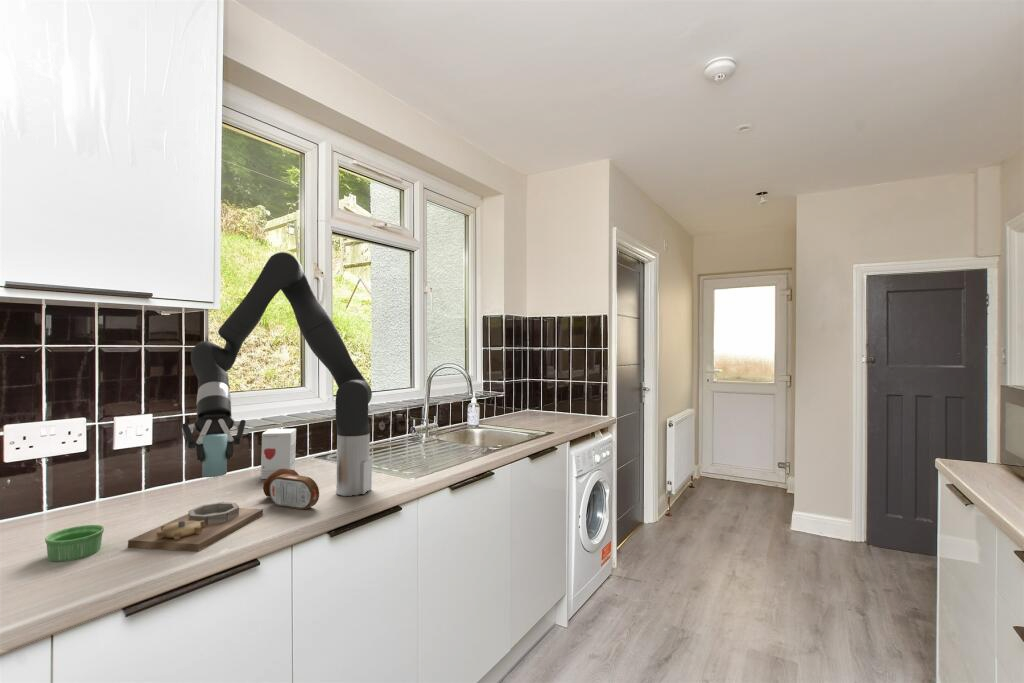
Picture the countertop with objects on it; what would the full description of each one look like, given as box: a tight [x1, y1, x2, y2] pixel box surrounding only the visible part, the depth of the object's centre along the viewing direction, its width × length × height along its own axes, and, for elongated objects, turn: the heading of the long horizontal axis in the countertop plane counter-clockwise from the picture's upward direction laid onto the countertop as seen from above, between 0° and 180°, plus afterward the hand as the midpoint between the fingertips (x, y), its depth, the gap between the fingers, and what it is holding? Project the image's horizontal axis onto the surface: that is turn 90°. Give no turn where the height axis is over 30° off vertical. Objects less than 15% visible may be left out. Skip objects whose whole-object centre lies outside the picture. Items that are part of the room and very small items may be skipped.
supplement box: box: [260, 428, 297, 480], centre depth 160 cm, size 9×9×15 cm
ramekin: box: [44, 524, 105, 563], centre depth 99 cm, size 9×9×4 cm
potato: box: [262, 469, 299, 498], centre depth 139 cm, size 8×12×8 cm, turn 156°
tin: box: [269, 474, 320, 511], centre depth 129 cm, size 15×3×8 cm, turn 71°
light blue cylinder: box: [201, 433, 228, 478], centre depth 116 cm, size 5×5×10 cm
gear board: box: [127, 501, 264, 552], centre depth 112 cm, size 16×22×4 cm
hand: (215, 458), depth 115 cm, fingers closed on light blue cylinder, 5 cm apart
